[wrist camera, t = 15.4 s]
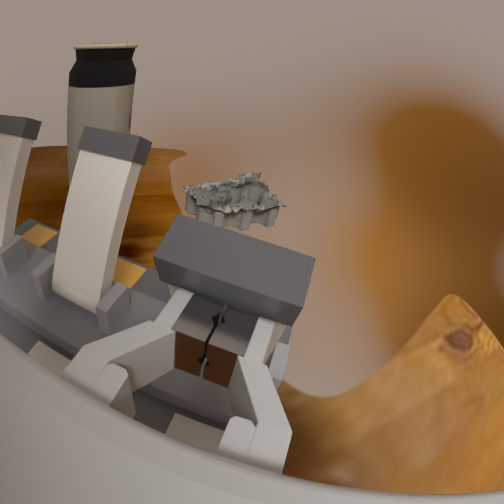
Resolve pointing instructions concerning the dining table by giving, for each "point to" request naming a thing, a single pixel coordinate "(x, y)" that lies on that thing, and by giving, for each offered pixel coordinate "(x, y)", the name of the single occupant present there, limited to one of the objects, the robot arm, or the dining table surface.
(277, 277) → the lever outer
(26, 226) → the switch panel
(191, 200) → the egg carton
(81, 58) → the travel mug
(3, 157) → the lever inner
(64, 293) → the lever middle
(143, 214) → the dining table surface
